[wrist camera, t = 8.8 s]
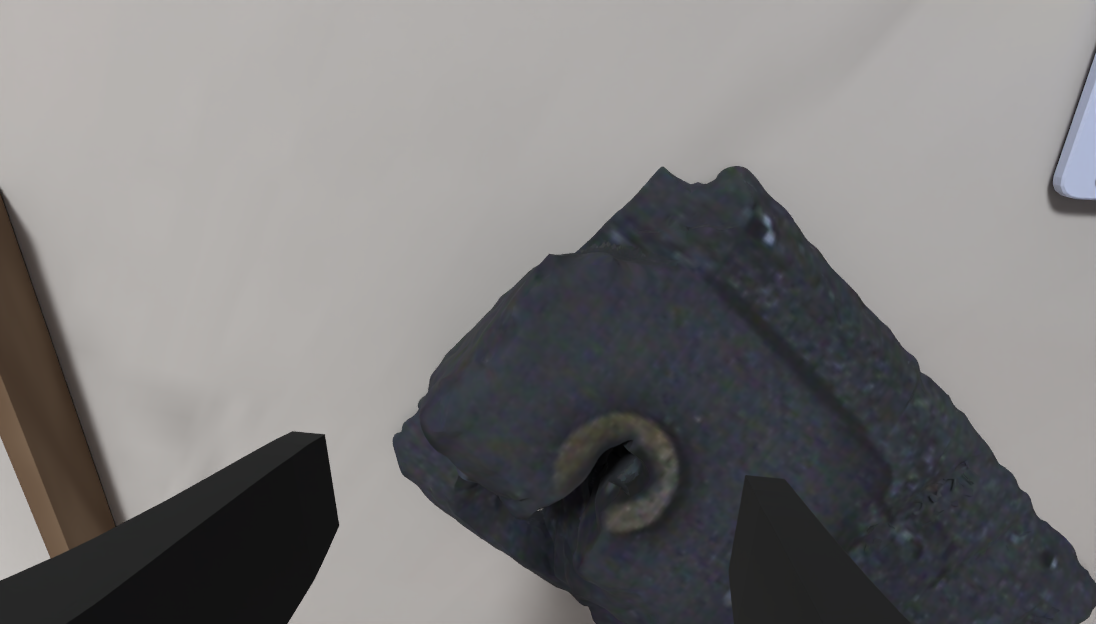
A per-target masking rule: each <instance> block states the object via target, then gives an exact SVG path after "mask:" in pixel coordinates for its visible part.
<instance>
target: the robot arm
mask: <svg viewBox="0 0 1096 624" xmlns="http://www.w3.org/2000/svg"><path fill="white" fill-rule="evenodd" d="M1095 181H1096V54H1095V57H1094V60H1093V63H1092V66H1091V69H1090V72H1089V75H1088V77H1087V80H1086V83H1085V86H1084V89H1083V92H1082V95H1081V98H1080V101H1079V104H1078V107H1077V110H1076V112H1075V115H1074V118H1073V121H1072V124H1071V127H1070V130H1069V133H1068V136H1067V139H1066V142H1065V145H1064V148H1063V150H1062V153H1061V156H1060V159H1059V162H1058V165H1057V168H1056V171H1055V174H1054V178H1053V186H1054V189H1055V191H1057V192H1058V193H1059V194H1060V195H1062V196H1066V197H1069V198H1073V199H1083V200H1096V186H1095ZM338 527H339V521H338V515H337V509H336V502H335V496H334V490H333V483H332V477H331V471H330V464H329V458H328V452H327V445H326V439H325V434H314V433H304V432H293V431H292V432H290V433H288V434H286V435H284V436H282V437H280V438H278V439H276V440H274V441H272V442H270V443H268V444H267V445H265V446H263V447H261V448H259V449H257V450H256V451H254V452H252V453H250V454H248V455H247V456H245V457H243V458H241V459H239V460H238V461H236V462H234V463H232V464H231V465H229V466H227V467H225V468H224V469H222V470H220V471H218V472H216V473H215V474H213V475H211V476H209V477H208V478H206V479H204V480H202V481H200V482H199V483H197V484H195V485H193V486H191V487H190V488H188V489H186V490H184V491H183V492H181V493H179V494H177V495H175V496H174V497H172V498H170V499H168V500H166V501H164V502H162V503H160V504H159V505H157V506H155V507H153V508H151V509H149V510H147V511H145V512H143V513H141V514H139V515H138V516H136V517H134V518H132V519H130V520H128V521H126V522H124V523H122V524H120V525H118V526H116V527H115V528H113V529H111V530H109V531H107V532H105V533H103V534H101V535H99V536H97V537H95V538H93V539H91V540H89V541H87V542H85V543H83V544H81V545H79V546H77V547H74V548H72V549H70V550H68V551H66V552H64V553H62V554H60V555H57V556H55V557H53V558H51V559H49V560H46V561H44V562H42V563H40V564H37V565H35V566H33V567H31V568H28V569H26V570H24V571H22V572H19V573H17V574H15V575H13V576H10V577H8V578H6V579H3V580H1V581H0V624H288V622H289V620H290V619H291V617H292V615H293V614H294V612H295V611H296V609H297V607H298V606H299V604H300V602H301V601H302V599H303V598H304V596H305V594H306V593H307V591H308V589H309V588H310V586H311V584H312V583H313V581H314V579H315V577H316V575H317V573H318V571H319V569H320V567H321V565H322V563H323V560H324V558H325V556H326V554H327V552H328V550H329V547H330V545H331V543H332V541H333V538H334V536H335V534H336V532H337V529H338ZM728 572H729V582H730V592H731V602H732V611H733V620H734V624H911V623H910V622H909V621H908V620H907V619H906V618H905V617H904V616H903V615H902V614H901V613H900V612H899V611H898V610H897V608H896V607H895V606H894V605H893V604H892V603H891V602H890V601H889V600H888V599H887V598H886V597H885V596H884V595H883V594H882V592H881V591H880V590H879V589H878V588H877V587H876V586H875V585H874V583H873V582H872V581H871V580H870V579H869V578H868V577H867V576H866V574H865V573H864V572H863V571H862V570H861V569H860V568H859V567H858V565H857V564H856V563H855V562H854V561H853V560H852V559H851V558H850V556H849V555H848V554H847V553H846V552H845V551H844V549H843V548H842V547H841V546H840V545H839V544H838V542H837V541H836V540H835V539H834V538H833V536H832V535H831V534H830V533H829V532H828V530H827V529H826V528H825V527H824V526H823V525H822V523H821V522H820V521H819V520H818V518H817V517H816V516H815V515H814V514H813V512H812V511H811V510H810V509H809V508H808V506H807V505H806V504H805V503H804V501H803V500H802V499H801V498H800V497H799V495H798V494H797V493H796V492H795V491H794V489H793V488H792V487H791V486H790V485H789V484H788V482H787V481H786V480H785V479H781V478H771V477H760V476H750V475H745V479H744V485H743V491H742V496H741V502H740V508H739V513H738V519H737V525H736V530H735V536H734V542H733V547H732V553H731V559H730V564H729V570H728Z"/></svg>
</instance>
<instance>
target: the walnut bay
mask: <svg viewBox="0 0 1096 624" xmlns="http://www.w3.org/2000/svg"><path fill="white" fill-rule="evenodd" d="M0 436H1V439H2V441H3V444H4V446H5V448H6V451H7V453H8V456H9V458H10V461H11V463H12V465H13V468H14V470H15V473H16V475H17V478H18V480H19V482H20V485H21V487H22V490H23V492H24V495H25V497H26V499H27V502H28V504H29V507H30V509H31V512H32V514H33V516H34V519H35V521H36V524H37V526H38V529H39V531H40V534H41V536H42V538H43V541H44V543H45V546H46V548H47V551H48V553H49V555H50V558H53V557H55V556H57V555H60V554H62V553H64V552H66V551H68V550H70V549H72V548H74V547H77V546H79V545H81V544H83V543H85V542H87V541H89V540H91V539H93V538H95V537H97V536H99V535H101V534H103V533H105V532H107V531H109V530H111V529H113V528H115V524H114V521H113V518H112V515H111V512H110V509H109V506H108V503H107V501H106V498H105V495H104V492H103V489H102V486H101V483H100V480H99V477H98V475H97V472H96V469H95V466H94V463H93V460H92V457H91V454H90V451H89V449H88V446H87V443H86V440H85V437H84V434H83V431H82V428H81V425H80V422H79V420H78V417H77V414H76V411H75V408H74V405H73V402H72V399H71V396H70V394H69V391H68V388H67V385H66V382H65V379H64V376H63V373H62V370H61V368H60V365H59V362H58V359H57V356H56V353H55V350H54V347H53V344H52V342H51V339H50V336H49V333H48V330H47V327H46V324H45V321H44V318H43V316H42V313H41V310H40V307H39V304H38V301H37V298H36V295H35V292H34V289H33V287H32V284H31V281H30V278H29V275H28V272H27V269H26V266H25V263H24V261H23V258H22V255H21V252H20V249H19V246H18V243H17V240H16V237H15V235H14V232H13V229H12V226H11V223H10V220H9V217H8V214H7V211H6V209H5V206H4V203H3V200H2V197H1V194H0Z"/></svg>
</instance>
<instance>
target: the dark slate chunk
mask: <svg viewBox="0 0 1096 624" xmlns="http://www.w3.org/2000/svg"><path fill="white" fill-rule="evenodd" d="M418 408H419V410H418V412H417V413H416V414H415V415H414V416H413V417H411V418H410V419H408V420H407V421H406V422H405V423H404V424H403V426H402V432H400V433H397V434H395V435H394V437H393V447H394V450H395V453H396V457H397V461H398V465H399V468H400V470H401V473H402V474H403V475H404V476H405V477H406V478H408V479H409V480H411V481H412V482H413V483H415V484H416V485H417V486H418V487H419V488H420V489H421V490H422V492H423V493H424V494H425V496H426V497H427V498H428V499H429V500H430V501H431V502H433V503H434V504H435V505H436V506H437V507H439V508H440V509H441V510H443V511H444V512H445V513H447V514H448V515H450V516H451V517H453V518H454V519H456V520H457V521H458V522H459V523H460V524H462V525H463V526H464V527H466V528H467V529H469V530H470V531H472V532H473V533H474V534H476V535H477V536H478V537H480V538H481V539H483V540H485V541H486V542H488V543H489V544H491V545H492V546H493V547H495V548H497V549H498V550H500V551H503V552H504V553H506V554H507V555H508V556H510V557H512V558H513V559H514V560H515V561H517V562H518V563H519V564H520V565H522V566H523V567H525V568H527V569H529V570H530V571H532V572H534V573H535V574H537V575H538V576H539V577H541V578H542V579H544V580H546V581H547V582H549V583H550V584H552V585H554V586H555V587H558V588H560V589H563V590H566V591H568V592H569V593H571V594H572V595H573V596H574V597H575V599H576V600H577V601H578V602H579V603H580V604H582V605H584V606H588V607H589V609H590V611H591V614H592V618H593V621H594V622H595V623H596V624H734V620H733V611H732V602H731V592H730V582H729V572H728V570H729V564H730V559H731V553H732V547H733V542H734V536H735V530H736V525H737V519H738V513H739V508H740V502H741V496H742V491H743V485H744V479H745V475H750V476H760V477H771V478H781V479H785V480H786V481H787V482H788V484H789V485H790V486H791V487H792V488H793V489H794V491H795V492H796V493H797V494H798V495H799V497H800V498H801V499H802V500H803V501H804V503H805V504H806V505H807V506H808V508H809V509H810V510H811V511H812V512H813V514H814V515H815V516H816V517H817V518H818V520H819V521H820V522H821V523H822V525H823V526H824V527H825V528H826V529H827V530H828V532H829V533H830V534H831V535H832V536H833V538H834V539H835V540H836V541H837V542H838V544H839V545H840V546H841V547H842V548H843V549H844V551H845V552H846V553H847V554H848V555H849V556H850V558H851V559H852V560H853V561H854V562H855V563H856V564H857V565H858V567H859V568H860V569H861V570H862V571H863V572H864V573H865V574H866V576H867V577H868V578H869V579H870V580H871V581H872V582H873V583H874V585H875V586H876V587H877V588H878V589H879V590H880V591H881V592H882V594H883V595H884V596H885V597H886V598H887V599H888V600H889V601H890V602H891V603H892V604H893V605H894V606H895V607H896V608H897V610H898V611H899V612H900V613H901V614H902V615H903V616H904V617H905V618H906V619H907V620H908V621H909V622H910V623H911V624H1080V623H1081V622H1083V621H1085V620H1086V619H1087V618H1088V617H1089V616H1090V614H1091V612H1092V610H1093V609H1094V608H1095V606H1096V583H1095V581H1094V580H1093V579H1092V578H1091V576H1090V575H1089V572H1088V571H1087V570H1086V569H1084V568H1083V567H1082V566H1081V565H1080V563H1079V561H1078V559H1077V556H1076V552H1075V550H1074V548H1073V546H1072V545H1071V544H1070V543H1069V541H1068V540H1067V539H1066V538H1065V537H1064V536H1063V535H1061V534H1060V533H1059V532H1058V531H1056V530H1055V529H1053V528H1052V527H1051V526H1050V525H1049V524H1048V523H1047V522H1046V521H1043V520H1041V519H1040V518H1039V517H1038V516H1037V515H1036V513H1035V511H1034V509H1033V506H1032V503H1031V499H1030V497H1029V495H1028V494H1027V493H1026V492H1024V491H1022V490H1021V489H1020V488H1019V486H1018V484H1017V481H1016V479H1015V477H1014V476H1013V474H1012V473H1011V472H1010V471H1009V470H1007V469H1006V468H1005V467H1003V466H1001V465H1000V464H999V463H998V461H997V459H996V458H995V456H994V454H993V452H992V450H991V449H990V447H989V446H988V445H987V443H986V442H985V441H984V440H983V439H982V438H981V436H980V435H979V434H978V433H977V432H976V430H975V429H974V428H973V426H972V425H971V423H970V422H969V420H968V418H967V417H966V415H965V414H964V413H963V412H961V411H960V410H958V409H957V408H956V407H955V406H954V405H953V403H952V401H951V399H950V397H949V395H947V394H946V393H945V392H944V391H943V390H942V389H941V388H940V387H939V386H938V385H937V384H936V383H935V382H934V381H933V380H932V379H931V378H930V377H928V376H927V375H925V374H923V373H921V372H920V368H919V364H918V362H917V360H916V358H915V357H914V356H913V355H911V354H910V353H908V352H907V351H906V350H905V349H904V348H903V347H902V346H901V344H900V343H899V342H898V340H897V339H896V338H895V336H894V335H893V333H892V332H891V330H890V329H889V328H888V327H887V326H886V325H885V324H884V323H883V322H881V321H880V320H879V319H878V317H877V316H876V315H875V314H874V313H873V312H872V311H871V310H870V309H869V308H868V307H866V306H865V304H864V303H863V302H862V300H861V299H860V297H859V296H858V294H857V293H856V292H855V291H854V290H853V289H852V288H851V287H850V286H849V285H848V284H847V283H846V282H845V281H844V280H843V279H842V278H841V277H840V276H839V275H838V274H837V273H836V272H835V271H834V270H833V269H832V268H831V267H830V265H829V264H828V263H827V261H826V260H825V258H824V257H823V255H822V254H821V253H820V251H819V250H818V249H817V248H816V247H815V246H814V245H812V244H811V243H810V242H809V241H808V240H807V239H806V238H805V236H804V235H803V233H802V232H801V230H800V229H799V227H798V226H797V224H796V223H795V222H794V220H793V218H792V217H791V215H790V214H789V213H788V211H787V210H786V209H785V208H784V207H783V206H781V205H780V204H779V203H778V202H777V201H775V200H774V199H773V198H772V197H771V196H770V195H769V194H768V193H767V192H766V191H765V189H764V188H763V187H762V185H761V184H760V182H759V181H758V180H757V179H756V177H755V176H754V175H753V174H752V173H751V172H750V171H749V170H748V169H746V168H744V167H740V166H734V167H729V168H726V169H724V170H722V171H721V172H720V173H719V174H718V176H717V178H716V179H715V180H714V181H712V182H710V183H708V184H701V183H699V182H697V183H694V184H689V183H687V182H685V181H683V180H681V179H679V178H677V177H676V176H674V175H673V174H671V173H670V172H669V171H668V170H667V169H666V168H664V167H661V168H660V169H659V170H658V171H657V172H656V173H655V174H654V175H653V176H652V177H651V178H650V180H649V181H648V182H647V183H646V184H645V185H644V187H643V188H642V189H641V190H640V191H639V192H638V193H637V194H636V195H635V196H634V198H633V199H632V200H631V201H630V202H628V203H627V204H626V205H625V206H624V207H623V208H622V209H621V210H619V211H618V212H617V213H616V214H615V215H614V216H613V217H612V218H611V219H609V220H608V221H607V222H606V223H605V224H604V226H603V227H602V228H601V229H600V230H599V231H598V232H597V233H596V234H595V235H594V236H593V237H592V238H591V239H590V240H589V241H588V242H587V243H586V244H585V245H583V246H582V247H581V248H580V249H579V250H578V251H577V252H575V253H570V254H562V255H553V254H549V255H548V256H547V257H546V258H545V259H544V260H543V261H542V262H541V263H540V264H539V265H538V266H536V267H534V268H533V269H532V270H530V271H529V272H528V273H527V274H526V275H525V276H524V277H523V278H522V279H521V280H520V281H519V282H518V283H517V284H516V285H515V286H514V287H513V288H512V289H510V290H509V291H508V292H506V293H505V294H504V295H502V296H501V297H500V299H499V300H498V301H497V303H496V304H495V305H494V307H493V308H492V309H491V310H490V311H489V312H488V313H487V314H486V315H485V316H484V317H483V318H482V319H481V320H480V321H479V322H478V324H477V325H476V326H475V327H474V328H473V329H472V330H471V331H469V332H468V333H467V334H466V335H465V336H464V337H463V338H462V339H461V340H460V341H459V342H458V343H457V344H456V345H455V346H454V347H453V348H452V349H451V350H450V351H449V352H448V353H447V354H446V355H445V357H444V359H443V360H442V362H441V363H440V365H439V366H438V367H437V369H436V370H435V371H434V372H433V374H432V375H431V377H430V382H429V388H428V393H427V394H426V396H424V397H423V398H422V399H421V400H420V401H419V403H418ZM540 508H544V509H543V510H541V511H537V510H539V509H540Z"/></svg>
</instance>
